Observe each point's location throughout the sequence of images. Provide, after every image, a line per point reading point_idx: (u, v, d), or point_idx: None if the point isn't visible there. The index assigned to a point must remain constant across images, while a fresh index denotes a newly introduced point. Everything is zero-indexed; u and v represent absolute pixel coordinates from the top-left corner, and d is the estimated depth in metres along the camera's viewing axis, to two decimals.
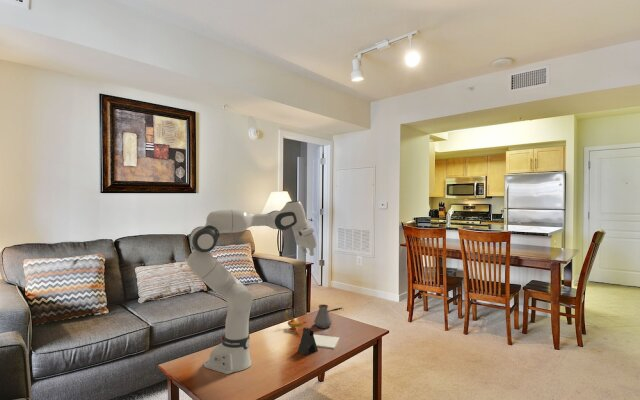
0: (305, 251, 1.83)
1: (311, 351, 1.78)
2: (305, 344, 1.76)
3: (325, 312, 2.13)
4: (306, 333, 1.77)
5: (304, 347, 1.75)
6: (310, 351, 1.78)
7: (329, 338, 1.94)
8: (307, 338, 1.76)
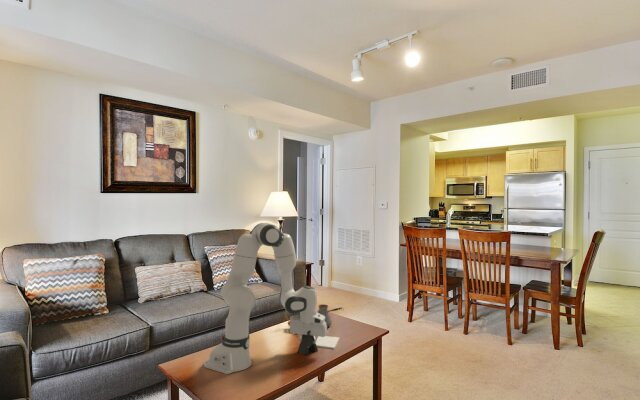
0: None
1: (311, 351, 1.78)
2: (305, 344, 1.76)
3: (325, 312, 2.13)
4: None
5: (304, 347, 1.75)
6: (310, 351, 1.78)
7: (329, 338, 1.94)
8: (307, 338, 1.76)
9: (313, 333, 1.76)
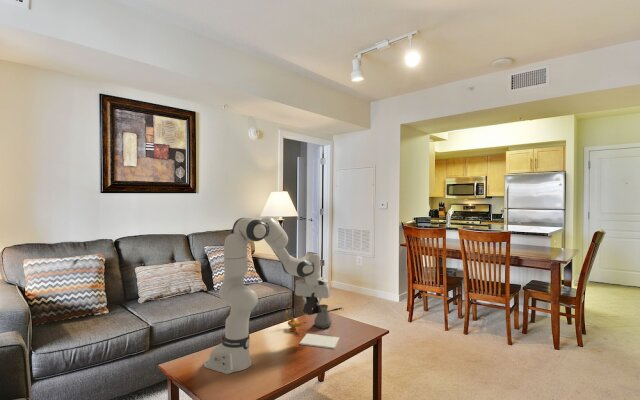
0: None
1: (315, 312, 1.92)
2: (309, 305, 1.90)
3: (325, 312, 2.13)
4: None
5: (308, 308, 1.90)
6: (314, 312, 1.92)
7: (329, 338, 1.94)
8: (311, 299, 1.90)
9: (317, 295, 1.90)
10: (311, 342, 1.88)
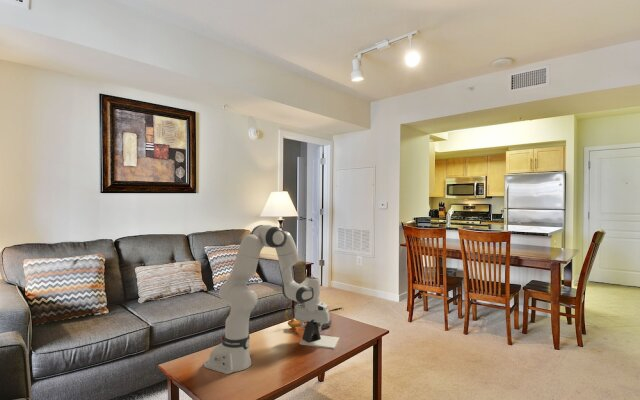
0: (305, 326, 1.94)
1: (314, 339, 1.92)
2: (309, 332, 1.90)
3: None
4: (310, 322, 1.91)
5: (308, 335, 1.89)
6: (314, 338, 1.92)
7: (329, 338, 1.94)
8: (311, 326, 1.90)
9: (316, 320, 1.90)
10: (311, 342, 1.88)
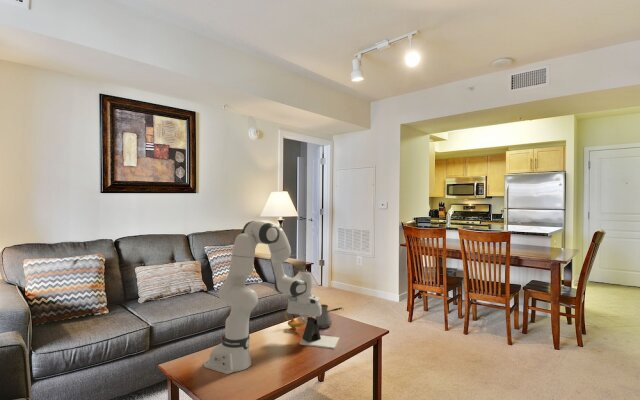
0: None
1: (314, 338, 1.92)
2: (309, 332, 1.90)
3: (325, 312, 2.13)
4: (310, 322, 1.92)
5: (308, 334, 1.90)
6: (314, 338, 1.92)
7: (329, 338, 1.94)
8: (311, 326, 1.90)
9: (309, 313, 1.92)
10: (311, 342, 1.88)
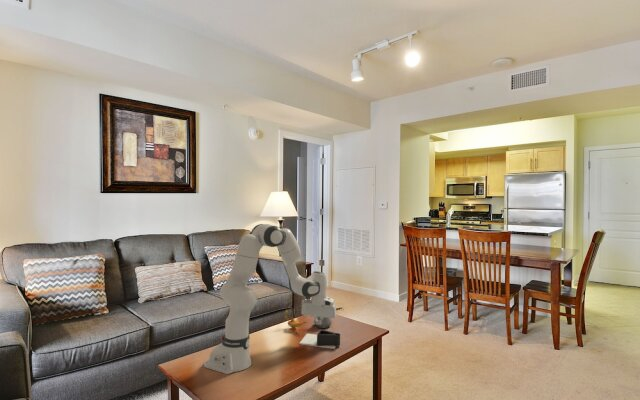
0: None
1: None
2: (326, 343, 1.84)
3: None
4: (335, 341, 1.84)
5: (323, 343, 1.84)
6: None
7: None
8: (332, 343, 1.84)
9: (323, 315, 1.89)
10: (311, 342, 1.88)
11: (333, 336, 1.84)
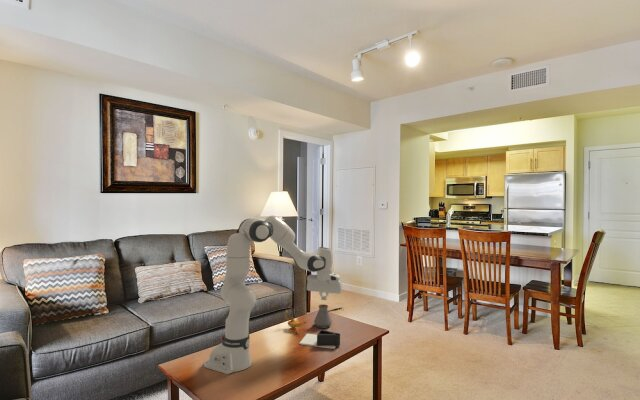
0: None
1: None
2: (326, 343, 1.84)
3: (325, 312, 2.13)
4: (335, 341, 1.84)
5: (323, 343, 1.84)
6: None
7: None
8: (332, 343, 1.84)
9: (329, 290, 1.88)
10: (311, 342, 1.88)
11: (333, 336, 1.84)
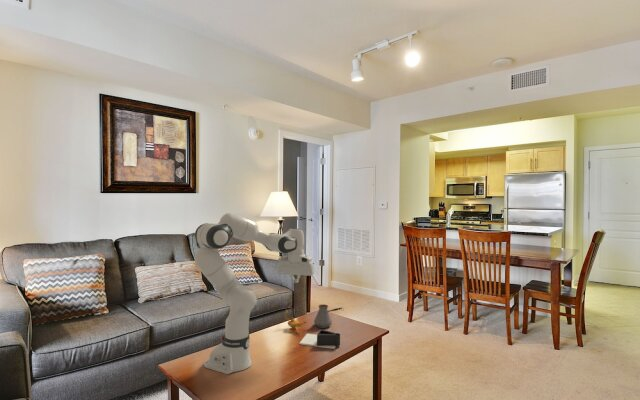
0: None
1: None
2: (326, 343, 1.84)
3: (325, 312, 2.13)
4: (335, 341, 1.84)
5: (323, 343, 1.84)
6: None
7: None
8: (332, 343, 1.84)
9: (300, 272, 1.82)
10: (311, 342, 1.88)
11: (333, 336, 1.84)
